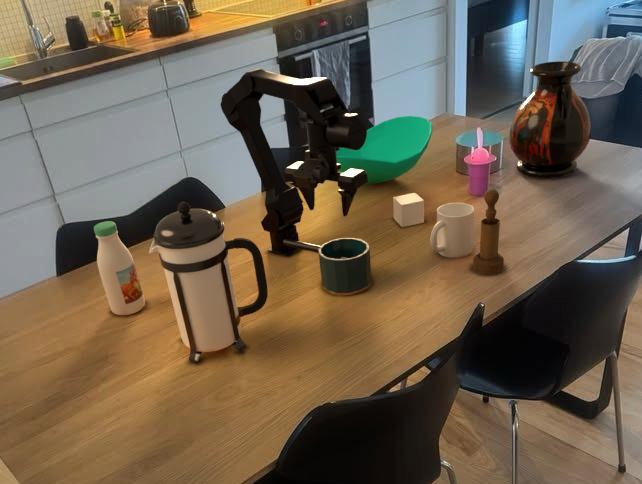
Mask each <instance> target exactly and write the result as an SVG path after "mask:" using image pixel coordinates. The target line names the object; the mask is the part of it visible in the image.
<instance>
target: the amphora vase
mask: <svg viewBox="0 0 642 484" xmlns="http://www.w3.org/2000/svg"><path fill="white" fill-rule="evenodd" d="M581 71H582V66H581V65H580V64H579V63H577V62H572V61H547V62H541V63H538V64H535V65H533V66H532V67H531V68H530V70H529V73H530V74H531V75H532V76H534V77H536V87H535V88H534V90H533V91H532V93H531V94H530V95H529V96H528V97H527V98H526V99H525V100H524V101H523V102H522V103H521V104H520V106H519V107H518V108H517V110H516V112H515V113H514V115H513V118H512V120H511V126H510V129H509V137H508V138H509V146H510V149H511V151H512V153H513V154H514V156H515V157H516V158H517V159H518V161H517V163H516V170H517V171H518V172H519V174H522V175H523V176H525V177H529V178H534V179H541V180H547V179H550V180H551V179H558V178H563V177H566V176H568V175H571V174H572V173H574V172H575V171H576V169H577V167H578V163H577V161H576V160H577V159H578V158H579V157H580V156H581V155H582V154H583V153H584V151H585V150H586V149H587V148H588V145H589V143H590V139H591V134H592V130H591V129H592V126H591V117H590V113H589V111H588V110H589V109H588V108H587V105H586V104H585V102H584V101H583V100H582V98H581V97H580V96H579V95H578V94H577V92H576V91H575V89H574V87H573V86H572V81H573V77H574V76H575V75H577V74H579V73H580V72H581Z"/></svg>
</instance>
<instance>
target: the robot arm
mask: <svg viewBox="0 0 642 484" xmlns="http://www.w3.org/2000/svg"><path fill="white" fill-rule="evenodd" d="M264 95H265V96H266V95H267V96H270V97H274V98H278V99H281V100H285V101H289V102H291V103H293V105H294V107H295V108H296V109H298V110H299V111H302V113H301V114H300V115H299V117H298V118H297V119H298V121H299V122H303V123H305V124H306V134H307V144H308V149H307V150H305V154H304V157H305V158H304V161H299V160H298V161H296V162H294V163H292V164H291V165H289V166H287V167H285V169H284V173H283V175H284V177H283V175H282V172H281V170H280V167H279V165H278V163H277V160H276V158H275V156H274V154H273V151H272V149H271V147H270V144H269V141H268V139H267V136H266V134H265V132H264V130H263V128H262V125H261V120H262V119H261V118H262V107H261V104H260V101H261V99H263V97H264ZM220 108H221V111H222V113H223V115H224V117H225V118H226V121H227V122H228V124H229V125H230V126H231V127H232V128H234V129H235V130H236V131H238V132H239V133H240V135H241V137H242V139H243V141H244V144H245V146H246V148H247V151H248V153H249V155H250V158H251V160H252V162H253V164H254V165H253V166H254V167H255V169H256V172H257V175H258V176H259V178H260V179H259V180H261V183H262V185H263V188H264V190H265V199H264V206H265V209H266V214H265V216H264V217H263V219H262V220H261V221H260V224H261V227H262V230H263V231H265V232H268V233H269V237H270V238H269V239H270V244H271V247H269V248H268V249H267V252H268V253H272V254H277V255H280V256H285V257H288V256H290V255H291V254H293V253H295V252H297V251H298V250H299V249H298V248H293V247H289V246H284V245H283V240H284V239H290V240H294V241H299V242H300V238H299V232H298V230H297V225H296V224H298V223H300V222H301V220H302V216H303V213H304V211H305V210H304V201H305V203H306V205H307V207H308V209H309V211H313V210H315V203H316V188H317V187H318V185H319V184H325V182H326V181H329V182H335V183H337V187H338V188H339V189H338V190H337V192H338V194H339V195H340V197H341V211H342V216H343V217H347V216H348V214H349V211H350V209H351V206H352V203H353V201H354V199H355V196H356V194H357V192H358V190H359V189H360V188H362V187H363V186H365V185H366V184H368V178H367V173H366V172H365V171H364V170H359V169H349V170H347V171H346V172H344V173H341V172H339V171H338V170H339V169H341V164H337V156H336V151H338V150H340V149H339V147H340V148H345V149H351V150H359V149H360V148H362V146H363V145H364V143H365V140H366V136H367V130H368V129H367V128H366V125H365V124H364V122H363V121H362V120H360V117H359V116H360V115H359V114H358V113H348V112H349V110H348V108H347V106H346V103H345V102H344V101H343V99H342V97H341V96H340V94H339V92H338V90H337V89H336V87H335V85H334V84H333V81H332V80H331V79H330V78H328V77H311V78H310V77H309V78H297V77H292V76H288V75H284V74H280V73H275V72H271V71H267V70H265V69H263V68H256V69H252V70H249V71H246V72H245V73H244V74H243V75H242V76H241V77H240V79H239V80H238V81H237V82H236V83H235V84H234V85H233V86H231V87H230V88H229V89H228V90H227V92H225V93H224V94H223V95H222V96H221V101H220ZM286 182H289V184H290V185H291V186H293V187H291V186H290V185H289V184H287V183H286ZM299 191H300V193H301V195H302V197H303V199H304V201H303V199H302V198H301V196H300V193H299Z"/></svg>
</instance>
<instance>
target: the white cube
mask: <svg viewBox="0 0 642 484" xmlns="http://www.w3.org/2000/svg"><path fill="white" fill-rule="evenodd" d="M392 203H393V219H394V221H395V222H397V223H398V225H400V227H401V228H405V227H410V226H414V225H419V224H424V223H425V200H424V199H423V198H422V197H420V196H419V194H417V193H416V192H412V193H411V192H410V193H406V194H403V195H402V194H401V195H396V196H393V197H392Z"/></svg>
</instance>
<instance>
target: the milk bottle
mask: <svg viewBox="0 0 642 484" xmlns="http://www.w3.org/2000/svg"><path fill="white" fill-rule="evenodd" d="M93 231H94V234H95V238H96V239H97V240H98V247H97V255H96V265H97V269H98V272H99V276H100V279H101V283H102V286H103V289H104V292H105V295H106V298H107V301H108V305H109V307H110V310H111V312H112V313H113V314H115V315H118V316H128V315H133V314H135V313H137V312H139V311H141V310H142V309H143V308H144V307H145V304H146V299H145V296H144V292H143V289H142V285H141V281H140V277H139V275H138V272H137V268H136V265H135V264H136V263H135V261H134V259H133V256H132V254H131V252H130V251H129V249H128V248H127V247H126V245H125V244H124V243H123V242H122V241H121V239H120V237H119V235H118V234H119V231H118V228H117V224H116V223H115V222H114V221H112V220H110V221H109V220H108V221H107V220H106V221H102V222H98V223H96V224H95V225H94V226H93Z"/></svg>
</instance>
